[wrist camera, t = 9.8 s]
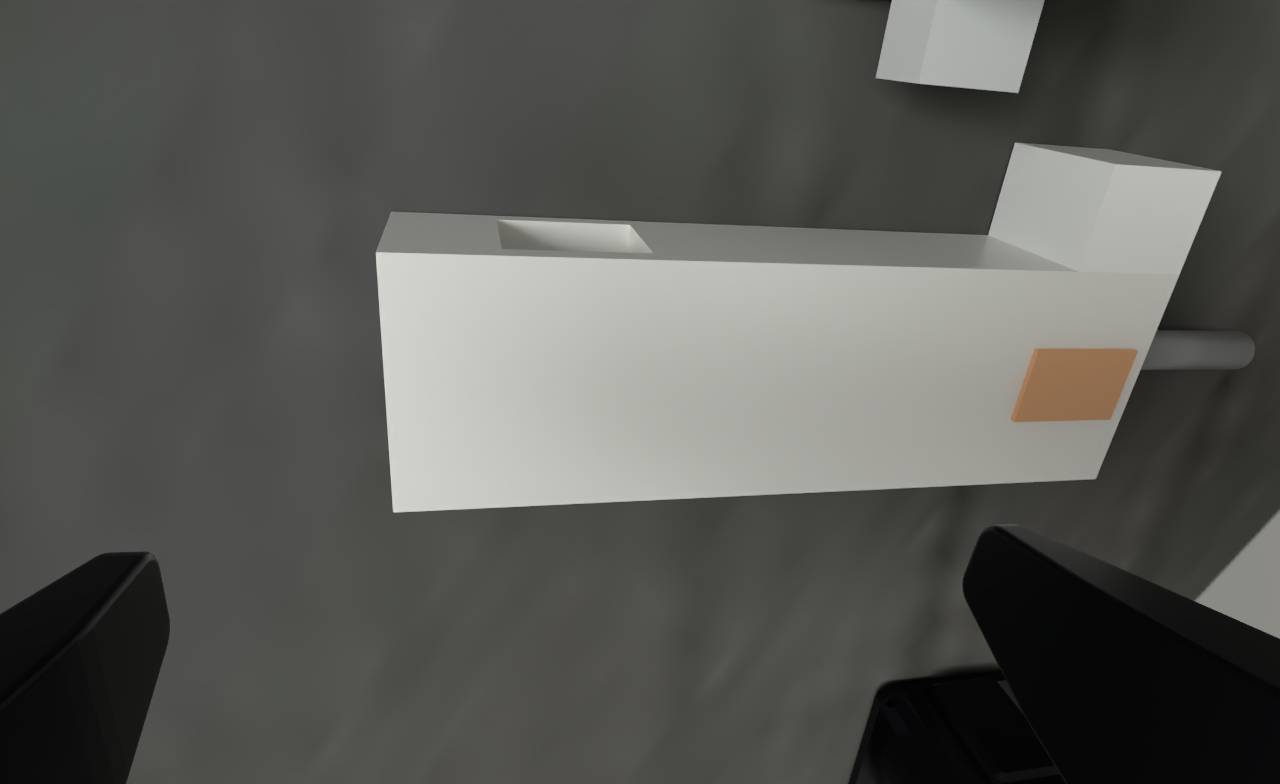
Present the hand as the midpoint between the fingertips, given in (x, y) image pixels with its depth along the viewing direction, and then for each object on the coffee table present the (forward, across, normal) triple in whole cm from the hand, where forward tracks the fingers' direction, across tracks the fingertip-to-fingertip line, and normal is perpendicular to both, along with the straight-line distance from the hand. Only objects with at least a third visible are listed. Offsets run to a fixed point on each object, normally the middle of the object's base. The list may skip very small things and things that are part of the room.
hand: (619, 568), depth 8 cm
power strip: (+12, -9, 0) cm, 15 cm away
